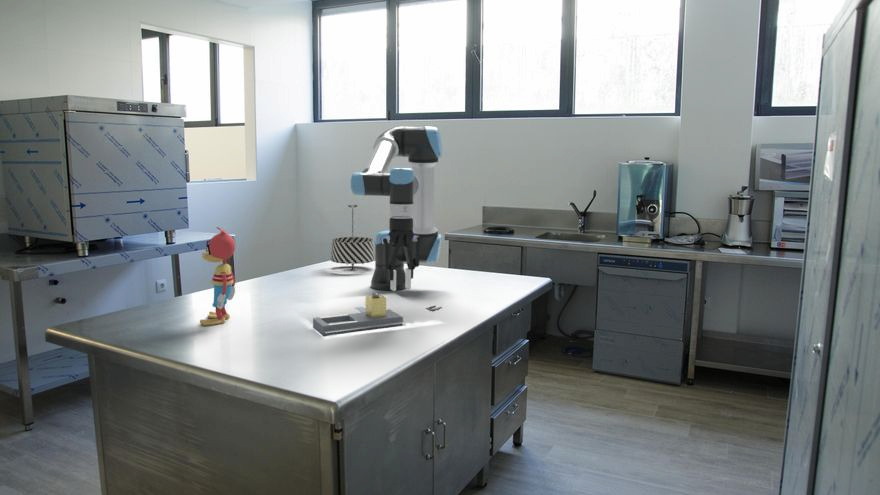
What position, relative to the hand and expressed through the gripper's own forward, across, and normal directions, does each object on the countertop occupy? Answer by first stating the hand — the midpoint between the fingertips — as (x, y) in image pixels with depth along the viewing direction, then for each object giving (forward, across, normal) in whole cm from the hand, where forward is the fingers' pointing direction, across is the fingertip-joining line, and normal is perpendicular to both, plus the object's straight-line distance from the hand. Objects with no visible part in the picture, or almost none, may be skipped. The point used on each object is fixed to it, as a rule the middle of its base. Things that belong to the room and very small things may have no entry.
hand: (400, 289), depth 197 cm
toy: (+11, -52, +25) cm, 58 cm away
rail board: (+11, -14, 0) cm, 18 cm away
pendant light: (+11, +18, +92) cm, 94 cm away
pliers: (+11, +10, +8) cm, 17 cm away
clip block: (+8, -9, 0) cm, 12 cm away
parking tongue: (+11, -8, +13) cm, 18 cm away
